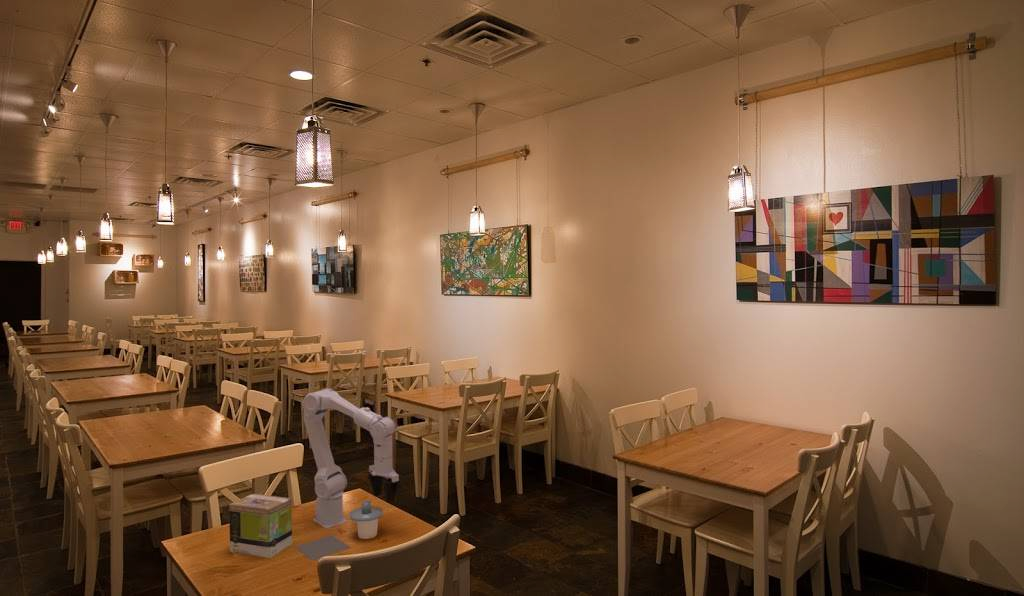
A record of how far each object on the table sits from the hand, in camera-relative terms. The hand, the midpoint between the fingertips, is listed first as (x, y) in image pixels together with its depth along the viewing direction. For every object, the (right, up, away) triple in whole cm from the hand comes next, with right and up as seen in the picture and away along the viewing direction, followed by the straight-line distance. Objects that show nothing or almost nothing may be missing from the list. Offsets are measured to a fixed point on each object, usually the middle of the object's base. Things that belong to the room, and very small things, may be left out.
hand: (383, 498), depth 184 cm
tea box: (-34, -11, -12) cm, 38 cm away
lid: (-5, -4, -4) cm, 7 cm away
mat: (-16, -11, -12) cm, 23 cm away
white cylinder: (-4, -11, -4) cm, 12 cm away
